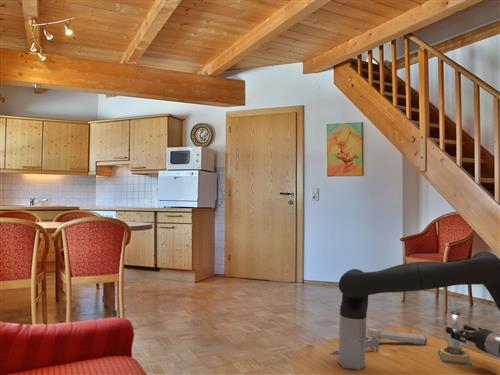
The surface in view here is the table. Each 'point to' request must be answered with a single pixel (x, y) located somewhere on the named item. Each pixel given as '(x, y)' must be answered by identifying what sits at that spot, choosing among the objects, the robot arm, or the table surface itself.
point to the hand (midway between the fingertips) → (455, 328)
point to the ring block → (454, 357)
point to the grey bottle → (456, 323)
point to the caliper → (368, 343)
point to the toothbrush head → (397, 336)
